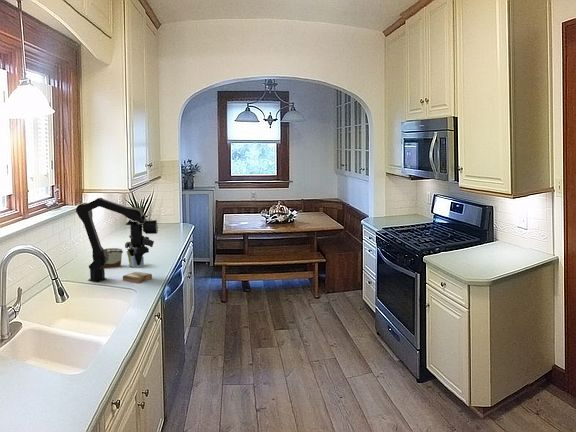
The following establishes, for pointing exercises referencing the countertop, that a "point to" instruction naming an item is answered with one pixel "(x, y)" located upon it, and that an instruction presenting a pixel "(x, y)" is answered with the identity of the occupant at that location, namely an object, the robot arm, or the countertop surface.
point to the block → (134, 263)
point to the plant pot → (129, 258)
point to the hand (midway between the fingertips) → (137, 264)
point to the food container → (113, 258)
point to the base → (137, 277)
